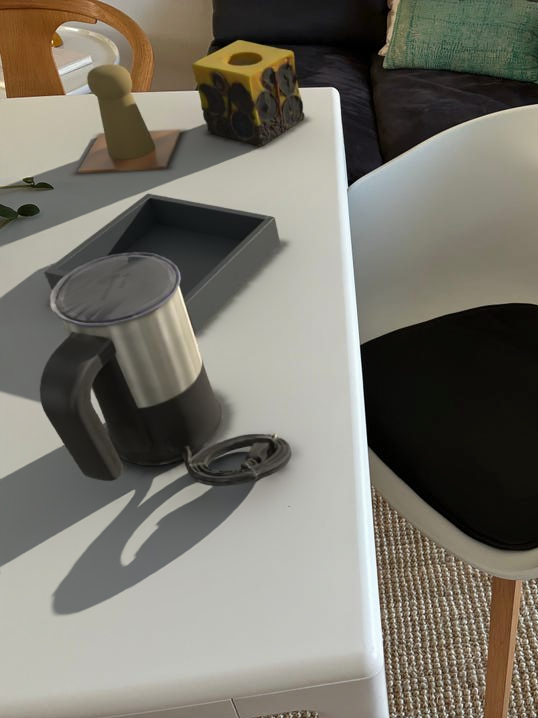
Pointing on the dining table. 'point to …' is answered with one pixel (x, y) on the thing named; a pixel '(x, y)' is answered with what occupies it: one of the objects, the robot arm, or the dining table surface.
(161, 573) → the dining table surface
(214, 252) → the tray
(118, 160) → the coaster
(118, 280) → the milk frother
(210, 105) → the candle
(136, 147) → the pepper shaker
